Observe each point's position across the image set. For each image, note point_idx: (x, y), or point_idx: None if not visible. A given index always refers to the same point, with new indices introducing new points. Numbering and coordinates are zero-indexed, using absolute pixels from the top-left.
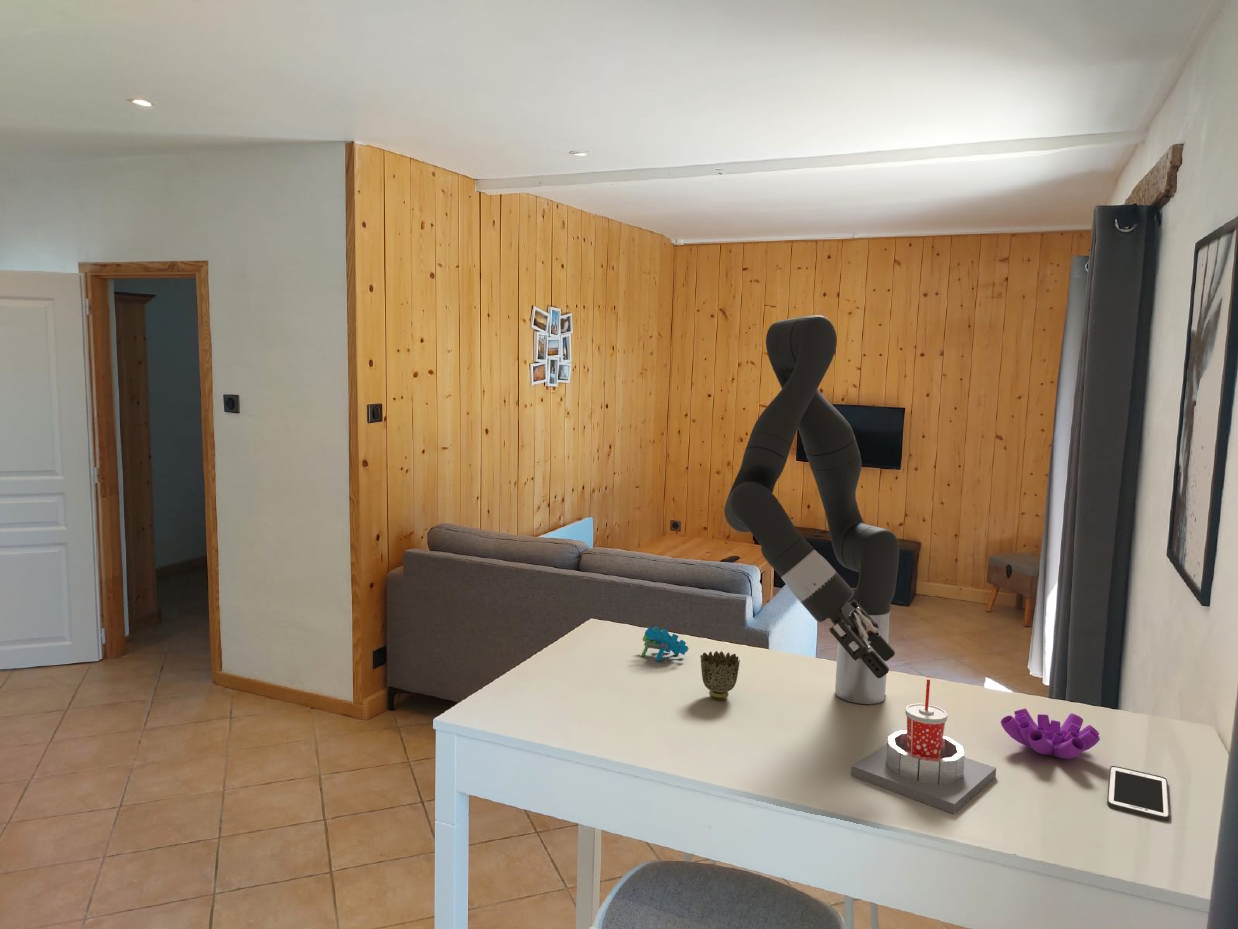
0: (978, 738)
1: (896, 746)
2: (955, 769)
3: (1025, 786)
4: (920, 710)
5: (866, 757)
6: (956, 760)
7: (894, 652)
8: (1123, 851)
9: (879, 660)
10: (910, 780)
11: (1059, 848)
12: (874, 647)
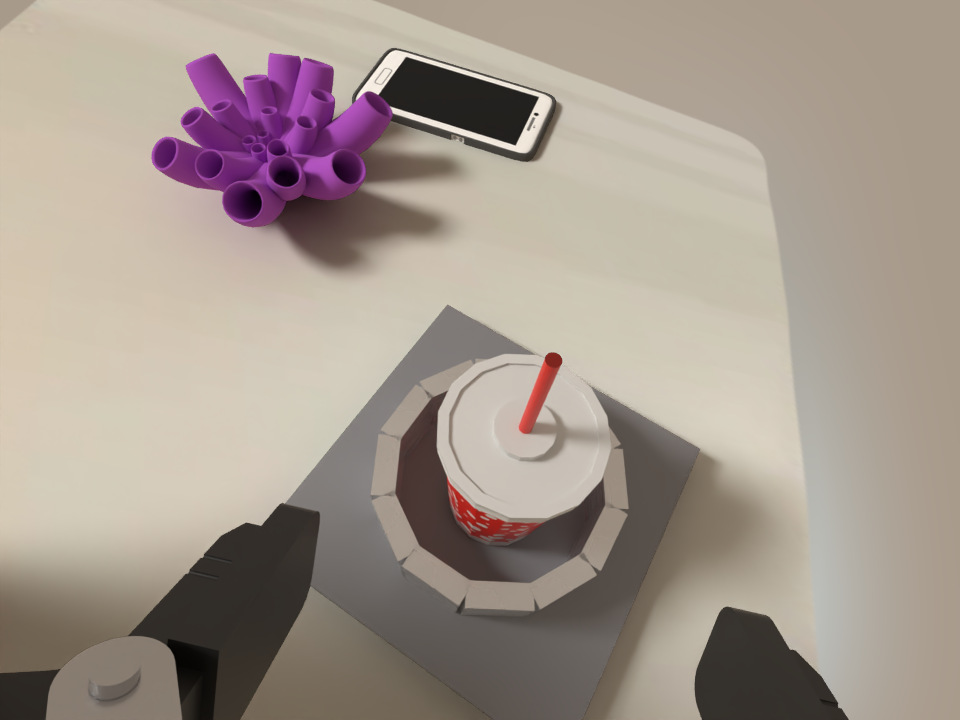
0: (201, 303)
1: (544, 581)
2: None
3: (479, 270)
4: (540, 454)
5: (471, 695)
6: None
7: (299, 507)
8: (694, 194)
9: (819, 707)
10: None
11: (737, 284)
12: (239, 703)
